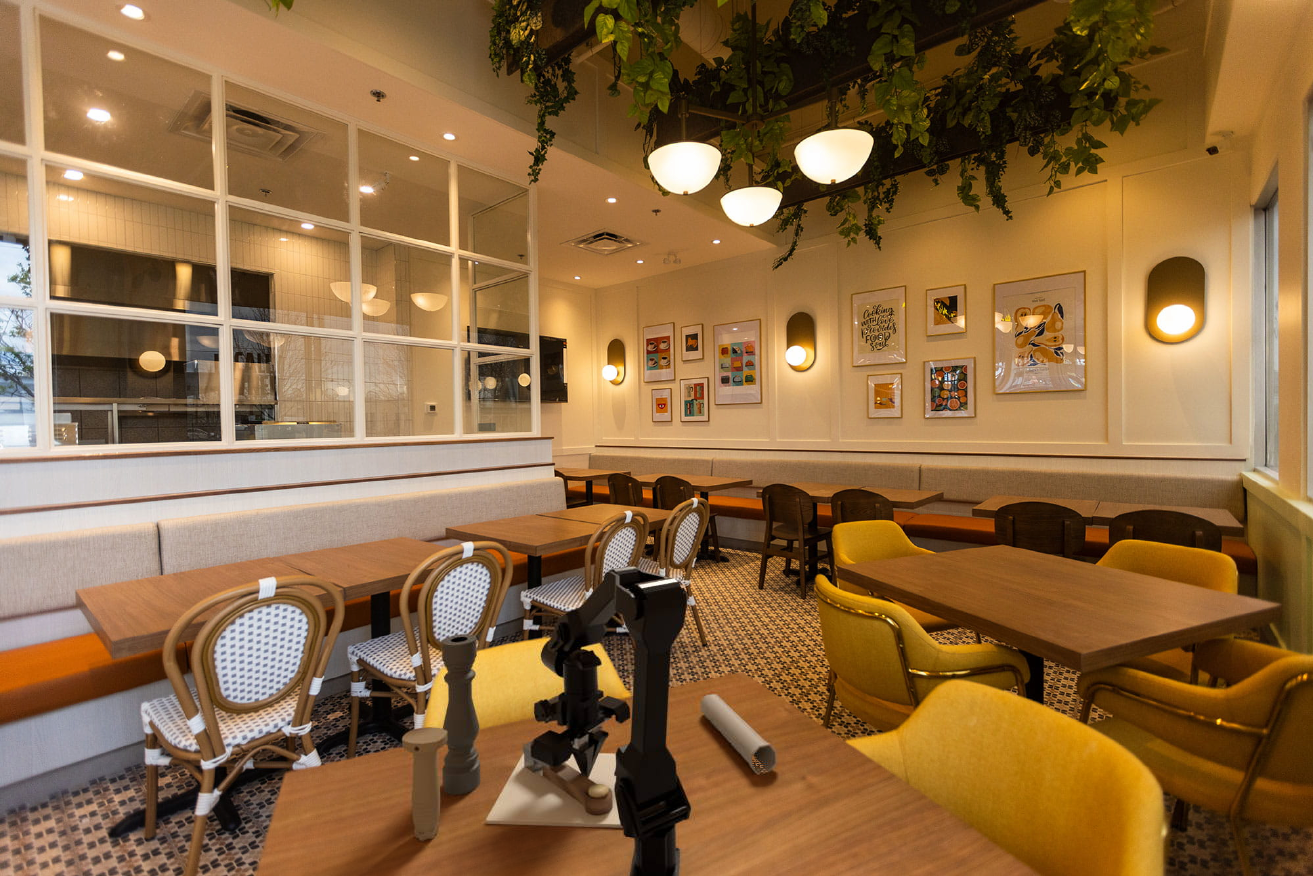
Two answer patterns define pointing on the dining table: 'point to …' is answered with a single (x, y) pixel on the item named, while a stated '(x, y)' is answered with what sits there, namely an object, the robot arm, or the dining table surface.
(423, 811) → the handle
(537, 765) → the block
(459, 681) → the candle holder
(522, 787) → the pivot plate
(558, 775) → the link
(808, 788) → the dining table surface
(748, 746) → the tube
